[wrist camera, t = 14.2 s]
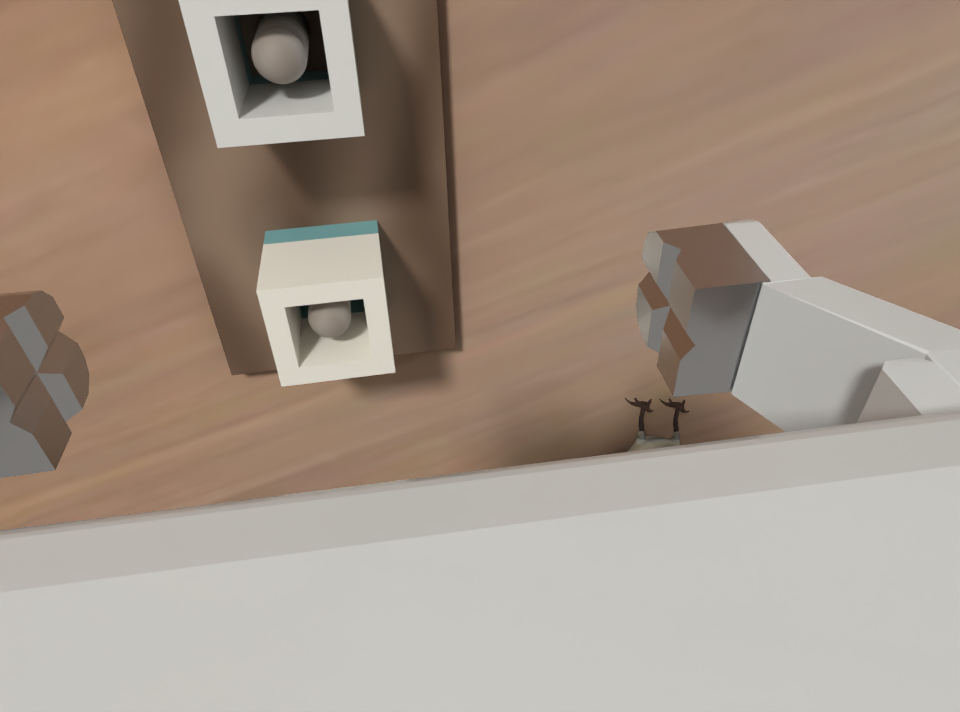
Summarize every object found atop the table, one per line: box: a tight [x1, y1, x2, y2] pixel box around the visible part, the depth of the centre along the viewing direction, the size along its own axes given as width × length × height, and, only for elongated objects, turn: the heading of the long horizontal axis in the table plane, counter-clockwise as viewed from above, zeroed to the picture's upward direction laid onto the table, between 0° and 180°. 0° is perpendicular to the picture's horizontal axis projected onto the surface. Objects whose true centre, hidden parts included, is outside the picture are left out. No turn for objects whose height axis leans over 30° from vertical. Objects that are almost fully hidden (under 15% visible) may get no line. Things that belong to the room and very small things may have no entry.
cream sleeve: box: [256, 220, 395, 386], centre depth 37 cm, size 6×6×6 cm
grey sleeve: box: [178, 0, 365, 148], centre depth 29 cm, size 6×6×6 cm
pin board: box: [112, 0, 456, 375], centre depth 34 cm, size 14×26×7 cm, turn 1°
